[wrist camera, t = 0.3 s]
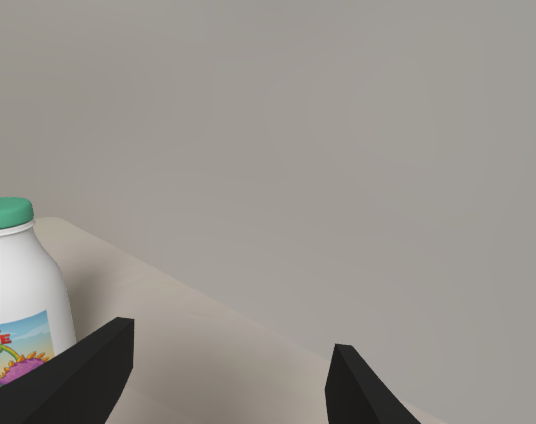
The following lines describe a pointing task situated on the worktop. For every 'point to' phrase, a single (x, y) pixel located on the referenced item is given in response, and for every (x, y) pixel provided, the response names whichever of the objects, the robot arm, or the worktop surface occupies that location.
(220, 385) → the worktop surface
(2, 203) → the milk bottle
